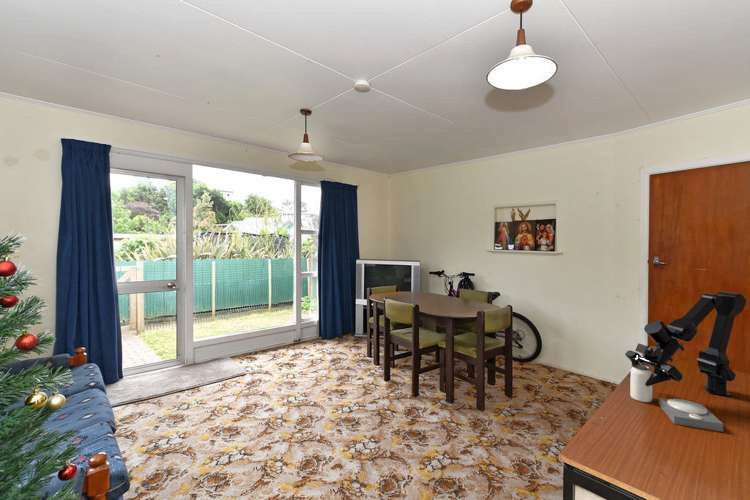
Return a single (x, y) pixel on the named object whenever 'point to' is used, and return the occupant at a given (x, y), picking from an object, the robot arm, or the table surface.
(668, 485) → the table surface
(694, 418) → the scale
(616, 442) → the table surface
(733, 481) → the table surface
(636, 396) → the can
